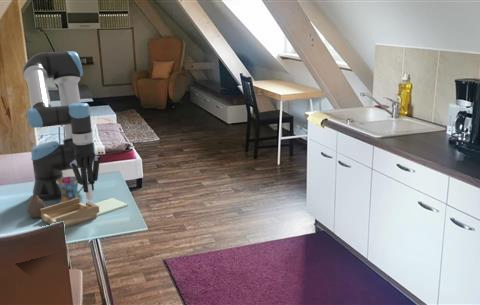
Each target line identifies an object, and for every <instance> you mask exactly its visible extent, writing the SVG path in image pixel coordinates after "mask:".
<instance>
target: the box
mask: <svg viewBox="0 0 480 305" xmlns="http://www.w3.org/2000/svg"><path fill="white" fill-rule="evenodd" d="M40 211H41V218H40V219H41V221H42V222H44V223H45V224H47V225H48V224H52V223H56V222H60V221H64V224H65V229H67V227H68V228H70V226H71V227H73V225H74V226H75V225H79V224H82V223H85V222H88V221H91V220H93V218H94V219H96V217H98V216H97V214H96V206H92V207H88V206H86V204H84V203H83V202H81V201H80V200H79V198H75V199H72V200H69V201H65V202H62V203H60V202H59V203H55V204H53V205H49V206H46V207H45V208H42V209H40Z"/></svg>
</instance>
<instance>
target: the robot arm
mask: <svg viewBox="0 0 480 305" xmlns="http://www.w3.org/2000/svg"><path fill="white" fill-rule="evenodd" d="M22 69H23V70H22V72H23V73H22V74H23V78H24V81H26V82H27V87H28V88H27V89H28V93H29V94H28V95H29V99H30V100H29V101H30V107H31V108H28V109H27V111H26V112H27V120H28V125H29V127H30V128H33V129H35V128H37V129H38V128H40V129H41V128H46V127H56V126H64V133H65V137H64V138H63V140H62V142H63V144H60V143H59V141H46V142H42V143H39V144H37V145H35V146H33V147H32V149H31V151H30V152H31V155H30V156H31V161H32V167H33V168H32V169H33V175H34V183H33V184H34V185H33V190H32V196H34V195H37V196H38V197H39V198H40V199H41V200H43V201H50V200H57V199H61V191H60V188H59V186H58V185H57V183H56V181H57V180H58V179H60V178H64V177H65V176H64V174H63V171H69V170H72V171H73V175H74V177H76V179H77V182H78V185H81V186H83V189H82V190H83V193H85V198H86V199H87V200H89V201H92V200H94V194H93V191H95V188H94V187H95V186H94V185H95V182H97V181H98V178H99V171H100V168H99V167H100V162H101V160H102V157H101V156H98V155H96V149H95V148H96V146H95V141H94V138H93V130H92V129H93V128H92V120H91V110H90V104H88V103H87V102H82V101H81V96H80V89H79V84H78V83H79V82H80V81H81V77H82V76H83V75H84V71H83V64H82V62H81V59H80V57H79V53H77V52H76V51H72V50H71V51H69V50H64V51H49V52H48V51H47V52H38V53H36V54H33V56H31V57H30V58H29V59H28V60H27V61H26V63H25V64H24V66H23V68H22ZM47 79H53V83H54V84H56V85H57V87H58V94H59V100H60V105H59V106H52V103H51V97H50V92H49V88H48V82H47ZM79 169H80V170H79Z"/></svg>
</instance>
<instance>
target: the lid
mask: <svg viewBox="0 0 480 305" xmlns="http://www.w3.org/2000/svg"><path fill="white" fill-rule="evenodd" d="M85 205H86V206H88V207H92V206H96V214H97V217H99V216H102V215H105V214H107V213H110V212H114V211H116V210H119V209H123V208H126V207H128V203H125V202H123V201H121V200H118V199H117V198H115V197H110V198H108V199H104V200H102V201H98V202H95V203H93V202H91V201H86V202H85ZM101 214H102V215H101ZM98 215H99V216H98Z"/></svg>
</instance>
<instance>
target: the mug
mask: <svg viewBox="0 0 480 305" xmlns="http://www.w3.org/2000/svg"><path fill="white" fill-rule="evenodd" d="M63 177H64V178H60V179H58V180H57V181H56V183H57V185H58V186H59V188H60V191H61V198H60V202H59V203H62V202H65V201H69V200H72V199H75V198H79V200H80V202H81V201H82V199H81V198H80V196H79V195H80V192H81V191H83V190H84V189H83V185H81V187H80V189H79V188H78V186H79V183H78V182H77V179H76V177H75V176H63Z"/></svg>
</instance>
